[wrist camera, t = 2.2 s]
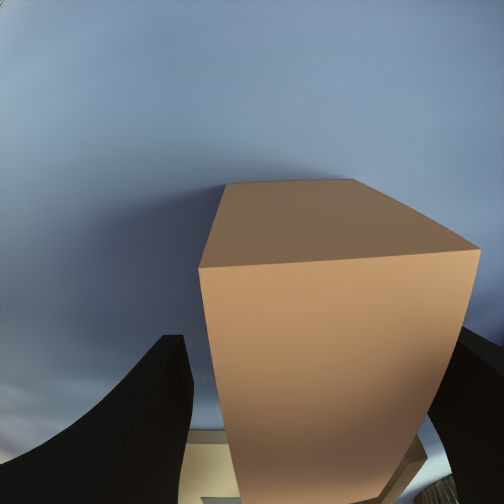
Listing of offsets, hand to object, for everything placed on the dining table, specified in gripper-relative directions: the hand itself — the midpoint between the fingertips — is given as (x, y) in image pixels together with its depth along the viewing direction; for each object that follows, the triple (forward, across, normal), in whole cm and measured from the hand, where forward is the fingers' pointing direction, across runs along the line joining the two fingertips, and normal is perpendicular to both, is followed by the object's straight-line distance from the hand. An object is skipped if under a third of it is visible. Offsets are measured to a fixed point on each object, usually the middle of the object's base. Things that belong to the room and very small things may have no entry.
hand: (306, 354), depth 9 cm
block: (+4, 0, 0) cm, 4 cm away
